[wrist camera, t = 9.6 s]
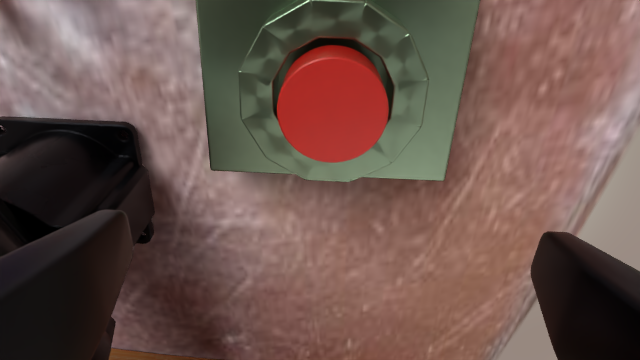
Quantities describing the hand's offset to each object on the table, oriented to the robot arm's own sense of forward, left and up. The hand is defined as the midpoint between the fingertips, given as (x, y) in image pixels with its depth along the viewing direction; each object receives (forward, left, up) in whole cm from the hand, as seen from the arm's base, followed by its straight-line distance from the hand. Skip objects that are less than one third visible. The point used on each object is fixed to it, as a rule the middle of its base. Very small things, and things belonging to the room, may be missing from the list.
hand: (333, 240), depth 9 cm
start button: (0, 0, -8) cm, 8 cm away
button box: (0, 0, -12) cm, 12 cm away
